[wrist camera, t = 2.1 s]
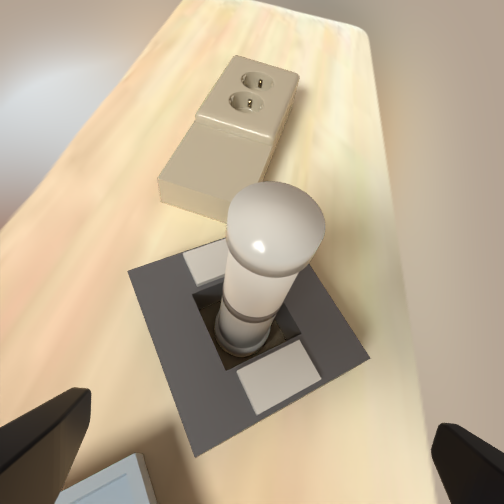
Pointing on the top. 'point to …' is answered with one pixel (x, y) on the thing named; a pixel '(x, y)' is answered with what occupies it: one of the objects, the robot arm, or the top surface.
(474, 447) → the robot arm
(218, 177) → the electrical outlet
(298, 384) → the socket block
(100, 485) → the parts tray
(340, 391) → the top surface
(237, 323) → the light bulb
